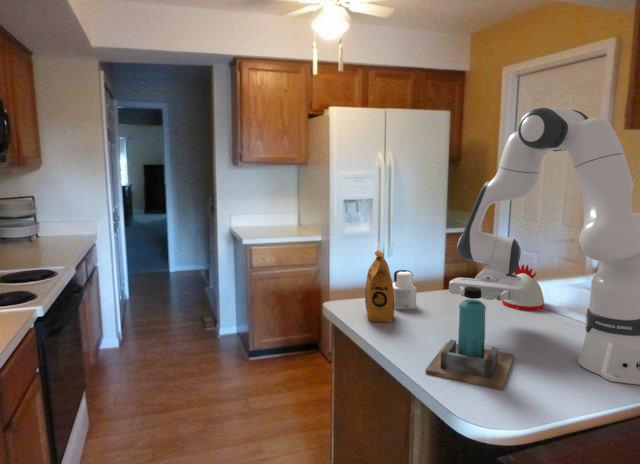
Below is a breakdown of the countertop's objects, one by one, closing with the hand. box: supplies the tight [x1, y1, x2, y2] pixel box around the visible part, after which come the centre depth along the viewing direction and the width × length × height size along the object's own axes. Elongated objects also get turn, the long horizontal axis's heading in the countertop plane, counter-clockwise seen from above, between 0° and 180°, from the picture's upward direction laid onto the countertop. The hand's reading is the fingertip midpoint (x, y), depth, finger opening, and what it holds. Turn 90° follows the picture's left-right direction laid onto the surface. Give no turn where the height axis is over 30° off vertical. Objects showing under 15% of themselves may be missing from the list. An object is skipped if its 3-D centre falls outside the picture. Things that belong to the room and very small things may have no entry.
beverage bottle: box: [457, 287, 486, 359], centre depth 116 cm, size 6×7×20 cm
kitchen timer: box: [501, 263, 545, 312], centre depth 168 cm, size 14×14×15 cm
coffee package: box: [364, 249, 395, 323], centre depth 155 cm, size 10×12×22 cm
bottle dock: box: [425, 339, 515, 391], centre depth 119 cm, size 18×20×5 cm
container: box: [392, 269, 417, 310], centre depth 167 cm, size 8×8×13 cm
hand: (481, 295), depth 127 cm, fingers open, 8 cm apart
